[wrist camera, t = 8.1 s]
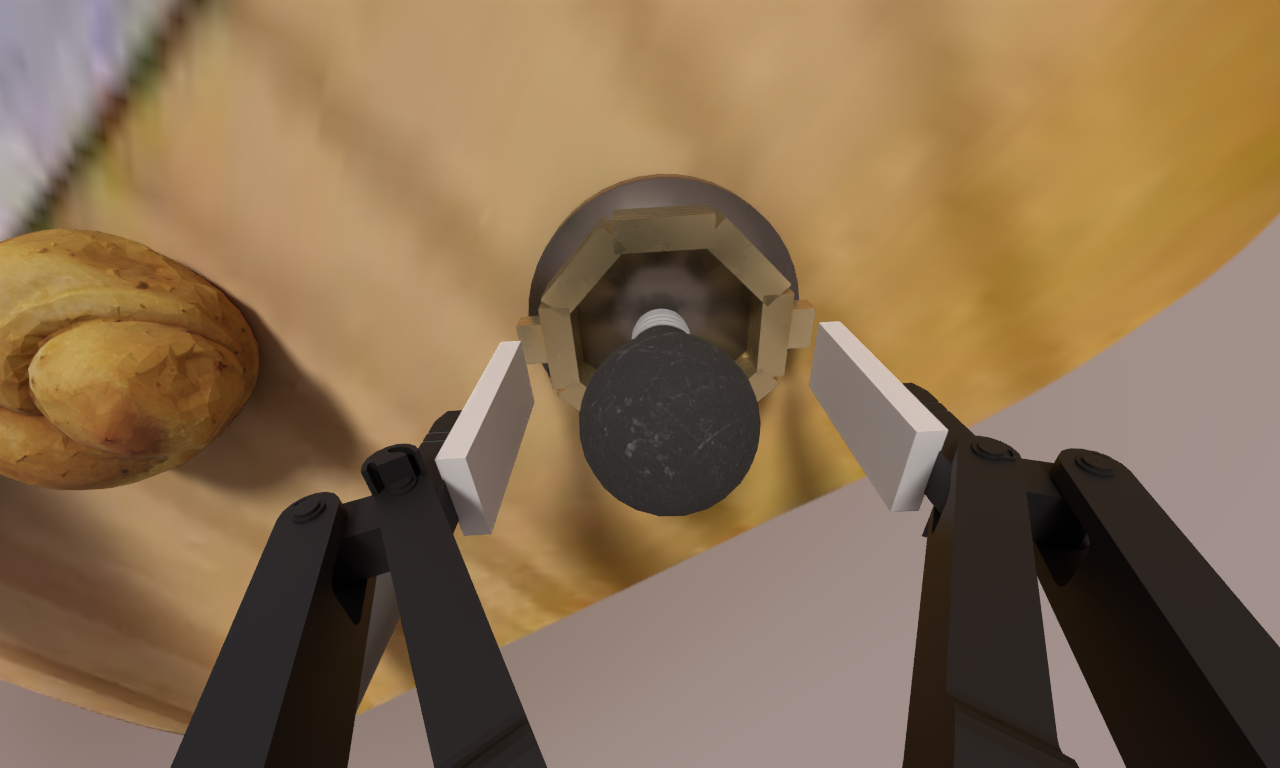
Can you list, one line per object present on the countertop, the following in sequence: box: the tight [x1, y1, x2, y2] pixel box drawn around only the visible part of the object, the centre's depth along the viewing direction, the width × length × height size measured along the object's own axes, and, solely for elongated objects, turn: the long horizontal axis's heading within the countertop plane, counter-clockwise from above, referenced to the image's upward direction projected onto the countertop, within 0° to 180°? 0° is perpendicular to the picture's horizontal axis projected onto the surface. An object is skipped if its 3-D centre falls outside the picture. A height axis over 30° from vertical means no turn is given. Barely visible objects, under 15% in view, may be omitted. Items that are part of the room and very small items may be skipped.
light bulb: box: [579, 309, 761, 516], centre depth 16 cm, size 6×6×10 cm
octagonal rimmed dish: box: [516, 174, 816, 411], centre depth 20 cm, size 12×12×4 cm
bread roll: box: [0, 229, 260, 490], centre depth 19 cm, size 13×10×8 cm
